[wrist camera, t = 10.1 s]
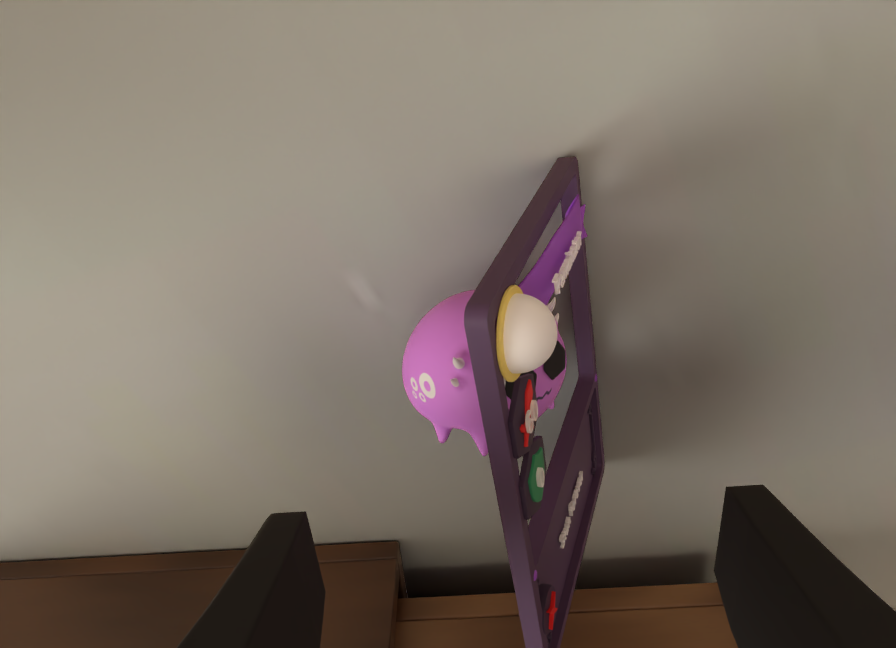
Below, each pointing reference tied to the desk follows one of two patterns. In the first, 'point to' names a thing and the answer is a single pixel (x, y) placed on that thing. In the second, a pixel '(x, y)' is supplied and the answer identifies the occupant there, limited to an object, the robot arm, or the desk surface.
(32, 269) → the desk surface
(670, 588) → the drawer
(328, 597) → the cabinet
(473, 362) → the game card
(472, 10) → the desk surface
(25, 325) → the desk surface
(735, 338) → the desk surface
